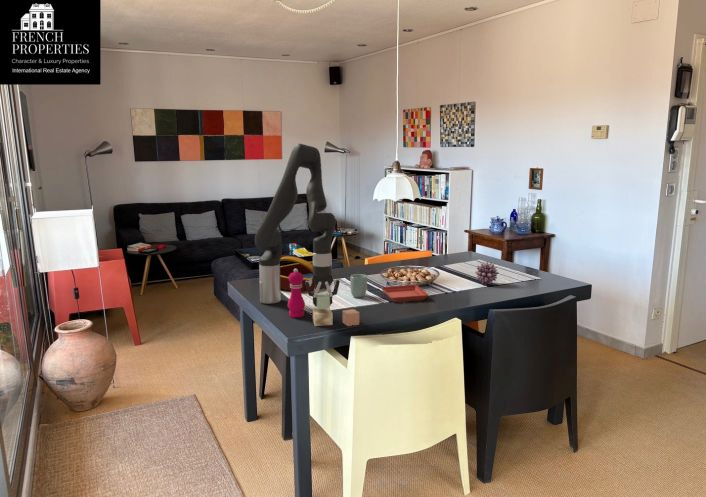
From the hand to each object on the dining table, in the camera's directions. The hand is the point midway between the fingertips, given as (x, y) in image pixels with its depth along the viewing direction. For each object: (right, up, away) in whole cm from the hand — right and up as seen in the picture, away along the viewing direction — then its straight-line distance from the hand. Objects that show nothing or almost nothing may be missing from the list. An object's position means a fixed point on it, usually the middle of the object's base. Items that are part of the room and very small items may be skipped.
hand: (322, 305), depth 212 cm
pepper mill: (-11, -5, +10) cm, 16 cm away
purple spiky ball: (+80, +4, +61) cm, 101 cm away
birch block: (0, -7, +1) cm, 7 cm away
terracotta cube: (+11, -7, +1) cm, 13 cm away
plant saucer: (+36, -1, +39) cm, 53 cm away
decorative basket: (-17, +4, +61) cm, 63 cm away
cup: (+15, 0, +38) cm, 41 cm away
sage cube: (0, -1, 0) cm, 1 cm away
